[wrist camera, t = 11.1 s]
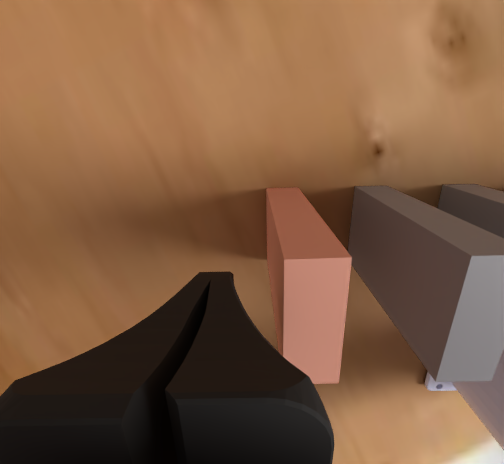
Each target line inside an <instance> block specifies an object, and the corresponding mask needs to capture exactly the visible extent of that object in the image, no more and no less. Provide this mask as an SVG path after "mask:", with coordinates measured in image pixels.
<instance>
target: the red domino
mask: <svg viewBox="0 0 504 464" xmlns="http://www.w3.org/2000/svg"><path fill="white" fill-rule="evenodd" d="M266 212H267V262H268V270H269V278H270V286H271V294H272V302H273V310H274V318H275V326H276V334H277V341H278V349H279V353H280V354H281V355H282V356H283V357H284V358H285V359H286V360H287V361H289V362H290V363H292V364H293V365H294V366H296V367H297V368H298V369H300V370H301V371H302V372H304V373H305V374H306V375H308V376H309V377H310V379H311V381H312V383H313V384H327V383H339V376H340V367H341V357H342V348H343V338H344V329H345V319H346V310H347V300H348V291H349V281H350V272H351V262H352V257H351V256H350V254H349V253H348V252H347V250H346V249H345V248H344V246H343V245H342V244H341V243H340V241H339V240H338V239H337V237H336V236H335V235H334V233H333V232H332V231H331V230H330V228H329V227H328V226H327V224H326V223H325V222H324V220H323V219H322V218H321V217H320V215H319V214H318V213H317V211H316V210H315V209H314V207H313V206H312V205H311V204H310V202H309V201H308V200H307V198H306V197H305V196H304V194H303V193H302V192H301V191H300V189H299V188H298V187H292V188H266Z"/></svg>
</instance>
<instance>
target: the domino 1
mask: <svg viewBox="0 0 504 464" xmlns="http://www.w3.org/2000/svg"><path fill="white" fill-rule="evenodd" d="M348 253H349V254H350V256H351V257H352V262H351V265H352V266H353V267H354V269H355V270H356V272H357V273H358V274H359V276H360V277H361V279H362V280H363V281H364V283H365V284H366V286H367V287H368V288H369V290H370V291H371V293H372V294H373V295H374V297H375V298H376V300H377V301H378V302H379V304H380V305H381V307H382V308H383V309H384V311H385V312H386V314H387V315H388V316H389V318H390V319H391V320H392V322H393V323H394V325H395V326H396V327H397V329H398V330H399V332H400V333H401V334H402V336H403V337H404V339H405V340H406V341H407V343H408V344H409V346H410V347H411V348H412V350H413V351H414V353H415V354H416V355H417V357H418V358H419V360H420V361H421V362H422V364H423V365H424V367H425V368H426V369H427V371H428V372H429V374H430V375H431V376H432V378H433V379H434V380H435V382H459V381H492V378H493V376H494V373H495V370H496V368H497V365H498V363H499V360H500V357H501V355H502V352H503V350H504V238H502V237H500V236H497V235H495V234H493V233H491V232H488V231H486V230H484V229H482V228H480V227H477V226H475V225H473V224H471V223H468V222H466V221H464V220H462V219H460V218H457V217H455V216H453V215H451V214H448V213H446V212H444V211H442V210H440V209H437V208H435V207H433V206H431V205H429V204H426V203H424V202H422V201H420V200H417V199H415V198H413V197H411V196H409V195H406V194H404V193H402V192H400V191H397V190H395V189H393V188H391V187H389V186H355V190H354V198H353V207H352V216H351V225H350V234H349V243H348Z"/></svg>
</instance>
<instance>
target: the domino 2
mask: <svg viewBox="0 0 504 464" xmlns="http://www.w3.org/2000/svg"><path fill="white" fill-rule="evenodd" d="M437 209H440V210H442V211H444V212H446V213H448V214H451V215H453V216H455V217H457V218H460V219H462V220H464V221H466V222H468V223H471V224H473V225H475V226H477V227H480V228H482V229H484V230H486V231H488V232H491V233H493V234H495V235H497V236H500V237H502V238H504V192H503V191H499V190H496V189H492V188H488V187H484V186H481V185H477V184H447V185H443V186H442V190H441V194H440V199H439V203H438V208H437Z"/></svg>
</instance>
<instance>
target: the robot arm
mask: <svg viewBox="0 0 504 464" xmlns="http://www.w3.org/2000/svg"><path fill="white" fill-rule="evenodd" d="M425 386H426V388H427V389H428V390H430V391H449V390H457V391H458V392H459V393H460V394H461V396H462V397H463V398H464V400H465V401H466V402H467V403H468V405H469V406H470V407H471V409H472V410H473V411H474V412H475V414H476V415H477V416H478V418H479V419H480V420H481V422H482V423H483V424H484V425H485V427H486V428H487V429H488V431H489V432H490V433H491V434H492V436H493V437H494V438H495V440H496V441H497V442H498V443H499V445H500V446H501V447H502V449H503V450H504V350H503V352H502V355H501V357H500V360H499V363H498V365H497V368H496V370H495V373H494V376H493V378H492V381H459V382H435V380H434V379H433V378H432V376H431V375H430V374H429V372H427V376H426V380H425ZM333 451H334V435H333V430H332V427H331V423H330V421H329V418H328V415H327V413H326V410H325V408H324V405H323V403H322V401H321V399H320V397H319V394H318V392H317V390H316V389H315V387H314V385H313V383H312V381H311V379H310V377H309V376H308V375H306V374H305V373H304V372H302V371H301V370H300V369H298V368H297V367H296V366H294V365H293V364H292V363H290V362H289V361H287V360H286V359H285V358H284V357H283V356H282V355H281V354H280V353H279V352H278V351H277V350H276V349H275V348H274V347H273V346H272V345H271V344H270V343H269V342H268V341H267V340H266V339H265V338H264V337H263V335H262V334H261V333H260V332H259V330H258V329H257V328H256V326H255V325H254V324H253V322H252V321H251V319H250V318H249V316H248V314H247V313H246V311H245V309H244V307H243V306H242V304H241V302H240V299H239V297H238V295H237V292H236V290H235V286H234V280H233V274H232V273H231V272H199V273H198V274H197V275H196V276H195V277H194V278H193V279H192V280H191V281H190V282H189V283H188V284H187V285H186V286H185V287H183V288H182V289H181V290H180V291H179V292H178V293H177V294H176V295H175V296H174V297H172V298H171V299H170V300H169V301H167V302H166V303H165V304H164V305H163V306H161V307H160V308H159V309H158V310H156V311H155V312H154V313H152V314H151V315H150V316H148V317H147V318H145V319H144V320H142V321H141V322H139V323H138V324H136V325H135V326H133V327H132V328H130V329H128V330H127V331H125V332H123V333H121V334H119V335H118V336H116V337H114V338H112V339H111V340H109V341H107V342H105V343H103V344H101V345H99V346H97V347H95V348H93V349H91V350H89V351H87V352H85V353H83V354H81V355H78V356H76V357H74V358H72V359H69V360H67V361H65V362H62V363H60V364H57V365H55V366H52V367H50V368H47V369H44V370H42V371H39V372H37V373H34V374H31V375H29V376H26V377H23V378H21V379H18V380H15V381H14V382H13V383H12V384H11V385H10V386H9V387H8V389H7V390H6V391H5V392H4V393H3V394H2V395H1V396H0V464H332V459H333Z"/></svg>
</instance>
